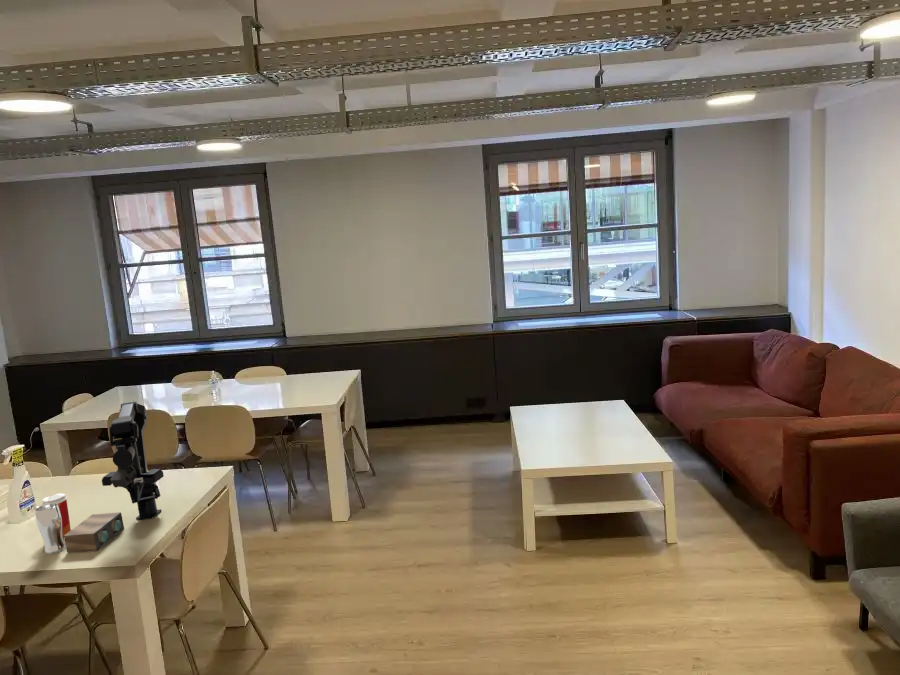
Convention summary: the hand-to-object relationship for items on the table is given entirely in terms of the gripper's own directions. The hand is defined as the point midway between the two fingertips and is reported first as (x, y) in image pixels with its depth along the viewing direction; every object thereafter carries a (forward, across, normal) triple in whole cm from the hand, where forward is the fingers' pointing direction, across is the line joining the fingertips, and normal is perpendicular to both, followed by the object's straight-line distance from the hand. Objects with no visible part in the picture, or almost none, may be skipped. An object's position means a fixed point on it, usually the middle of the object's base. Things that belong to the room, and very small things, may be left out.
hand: (137, 501), depth 227 cm
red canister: (+12, -31, +2) cm, 33 cm away
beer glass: (+12, -26, -9) cm, 29 cm away
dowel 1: (+10, -13, -8) cm, 18 cm away
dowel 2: (+10, -14, 0) cm, 17 cm away
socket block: (+12, -15, -4) cm, 19 cm away
